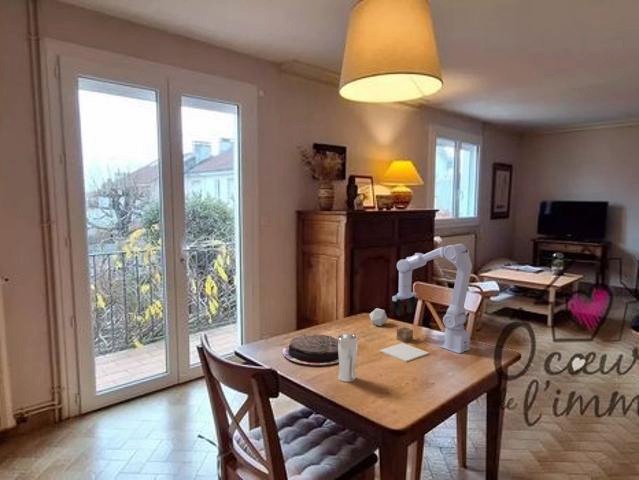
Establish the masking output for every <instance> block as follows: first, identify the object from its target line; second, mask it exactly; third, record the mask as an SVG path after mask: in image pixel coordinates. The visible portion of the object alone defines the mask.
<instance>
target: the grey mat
mask: <svg viewBox="0 0 639 480" xmlns="http://www.w3.org/2000/svg"><path fill="white" fill-rule="evenodd" d="M379 352H380V353H383V354H386V355H388V356H389V357H393V358H395V359H398V360H400V361H402V362H404V363H407V362H410V361H412V360H416V359H419V358H422V357H424V356H427V355H429V354H430V353H429V351H425V350H423V349H420V348H418V347H416V346H412V345H409V344H407V343H404V342H401V343H397V344H394V345H391V346H388V347H385V348H382V349H379Z"/></svg>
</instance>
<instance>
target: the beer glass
mask: <svg viewBox="0 0 639 480" xmlns="http://www.w3.org/2000/svg"><path fill="white" fill-rule="evenodd" d="M337 340H338V343H337V353H338V360H339V364H338V366H339V367H338V368H339V370H338V374H337V378H338V380H339V381H341V382H344V383H350V382H354V381H355V380H356V372H355V367H356V366H355V365H356V360H357V356H358V355H357V354H358V337H357V335H355V334H352V333H341V334H339V335H338V336H337Z"/></svg>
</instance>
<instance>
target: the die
mask: <svg viewBox="0 0 639 480" xmlns="http://www.w3.org/2000/svg"><path fill="white" fill-rule="evenodd" d="M369 318H370V321H371V323H372V325H375V326H378V327H381V326H383V325H384V324H385V323H386V322H387V321H388V319H389V318H388V316H387V314H386V311H385V309H381V308H379V307H376V308H374V310H373V311H371V312H370V313H369Z"/></svg>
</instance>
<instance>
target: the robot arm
mask: <svg viewBox="0 0 639 480" xmlns="http://www.w3.org/2000/svg"><path fill="white" fill-rule="evenodd" d="M437 258H445V259H446V260H447V261H448V262H449V263H452V264H453V266H455V268H456V276H455V281H454V286H453V290H452V295H451V301H450V305H449V306H448V308H447V309H446V313H445V315H443V317H442V323H443V325H444V326H445V330H444V343H443V344H442V345H440V346H439V347H440V348H442V349H445V350H447V351H451V352H453V353H456V354H462V353H465V352H466V351H467V352H468V351H469V350H471V348H470V337H471V335H470V332H469V331H467V330H466V329H464V324H465V323H466V322H467V314H466V311H467V310H466V307H465V304H466V303H465V302H466V298H467V292H468V289H469V284H470V279H471V274H472V269H473V264H472V261H471V257H470V250H469V249H468V247H467V246H466V245H464V244H463V243H456V244H450V245H447V246H440V247H438V248H436V249H434V250H431V251H429V252H426V253H425V254H424V253H422V252H415V253H414V254H413V255H412V256H407V257H406V258H405V259H399V260H398V261H397V263H396V268H397V271H398V292H397V293H396V294H395V295H393V296H392V297H391V298H392V299H391V303H392V305H393V307H394V311H395V314H396V316H398V317H401V316H402V309H403V306H404V301H403V300H405V301H406V310H407V311H406V312H407V313H408V314H412V313H413V312H414V311H413V310H414V307H415V304H416V303H417V301H418V298H417V296H418V293H417V292H415V291H412V282H413V281H412V280H413V279H412V275H413V271H414V270H415V269H419V268H422V267H423V266H426V265H427V262H428V261H431V260H433V259H437ZM464 351H465V352H464Z"/></svg>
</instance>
